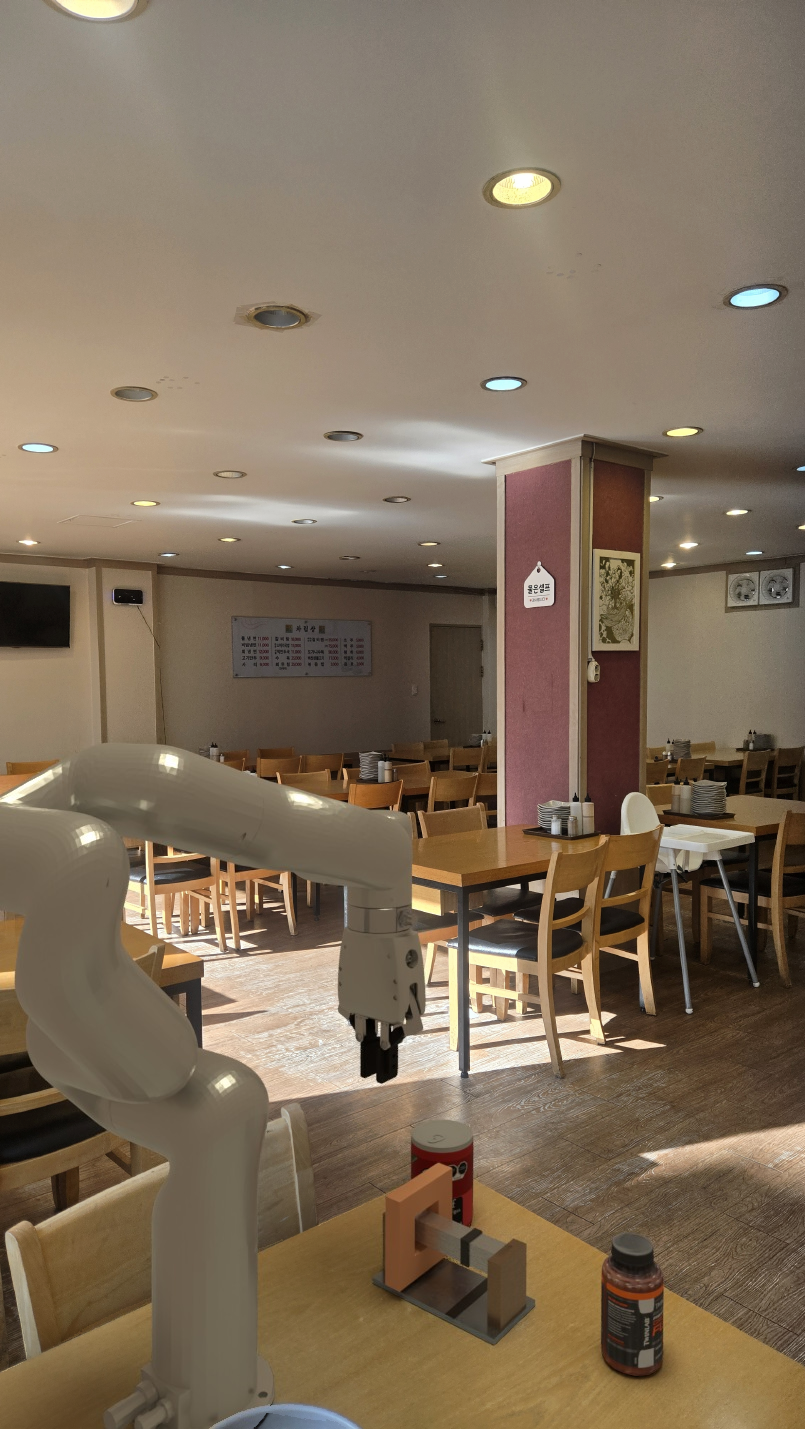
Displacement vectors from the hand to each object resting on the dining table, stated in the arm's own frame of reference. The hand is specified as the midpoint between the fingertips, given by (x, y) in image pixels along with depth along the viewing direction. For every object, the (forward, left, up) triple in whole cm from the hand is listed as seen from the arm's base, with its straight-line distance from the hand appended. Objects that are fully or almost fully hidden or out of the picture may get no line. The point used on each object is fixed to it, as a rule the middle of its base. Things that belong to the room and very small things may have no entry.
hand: (379, 1075), depth 108 cm
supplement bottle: (+3, -30, -21) cm, 37 cm away
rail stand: (0, -10, -21) cm, 24 cm away
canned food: (+11, -1, -21) cm, 24 cm away
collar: (0, -6, -20) cm, 21 cm away
